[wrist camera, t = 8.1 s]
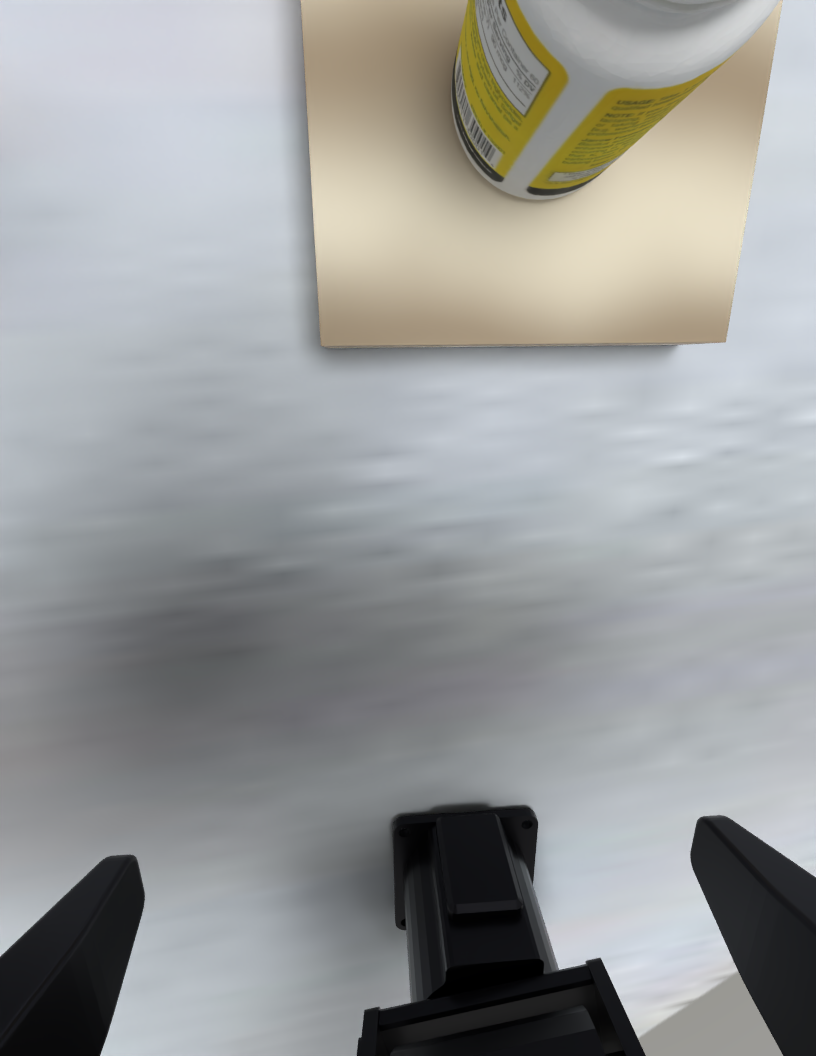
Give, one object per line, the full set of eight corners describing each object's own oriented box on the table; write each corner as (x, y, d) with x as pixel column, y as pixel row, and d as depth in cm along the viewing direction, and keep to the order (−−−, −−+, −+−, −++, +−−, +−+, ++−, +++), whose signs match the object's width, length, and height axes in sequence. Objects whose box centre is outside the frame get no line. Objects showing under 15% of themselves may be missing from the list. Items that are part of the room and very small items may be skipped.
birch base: (678, 345, 18) (725, 342, 15) (327, 348, 17) (320, 345, 15) (743, -120, 14) (818, -217, 12) (301, -141, 13) (286, -250, 11)
